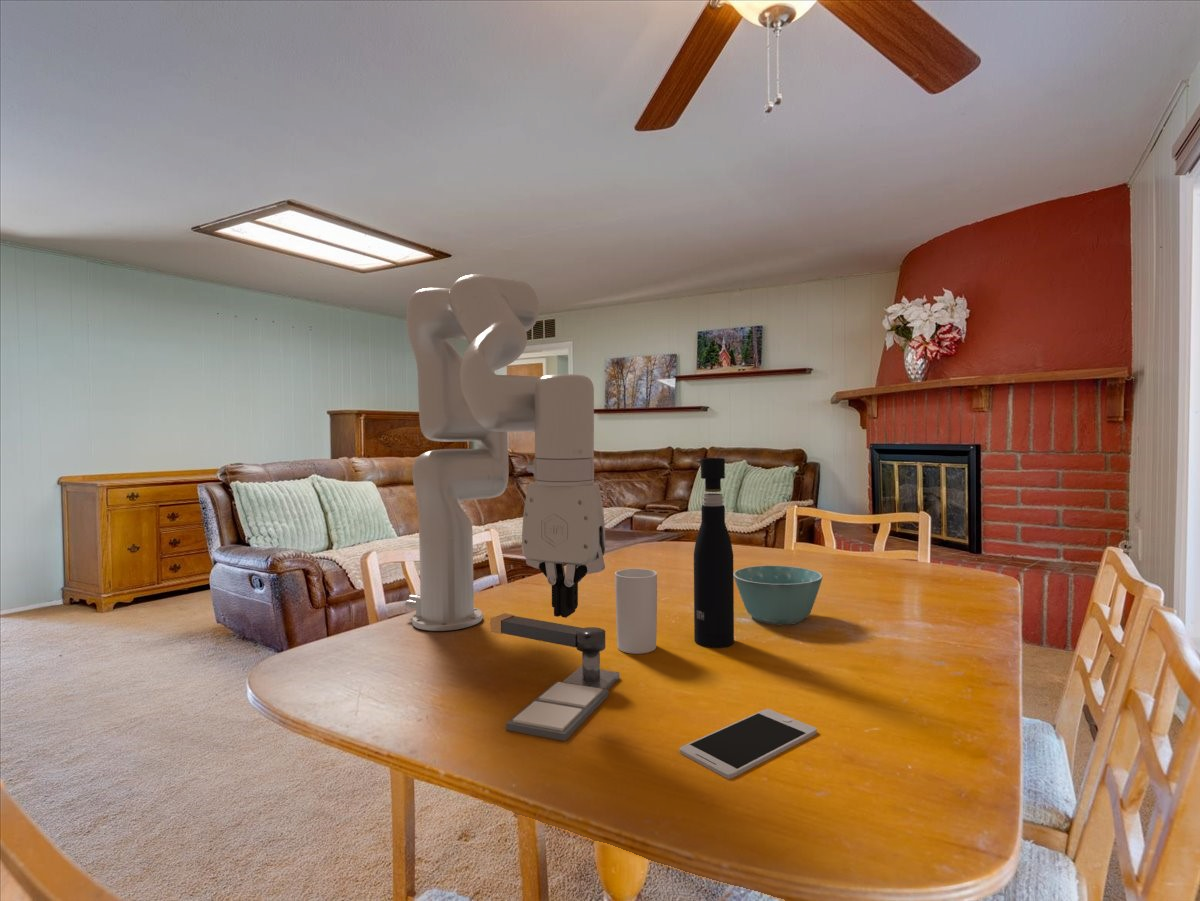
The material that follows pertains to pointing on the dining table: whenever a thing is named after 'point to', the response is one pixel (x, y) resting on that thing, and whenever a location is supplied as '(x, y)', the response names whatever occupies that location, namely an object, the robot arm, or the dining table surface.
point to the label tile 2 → (574, 696)
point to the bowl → (778, 592)
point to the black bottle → (713, 565)
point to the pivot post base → (592, 673)
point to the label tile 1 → (547, 720)
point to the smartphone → (747, 742)
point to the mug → (636, 610)
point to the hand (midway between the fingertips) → (564, 613)
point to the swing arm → (550, 632)
